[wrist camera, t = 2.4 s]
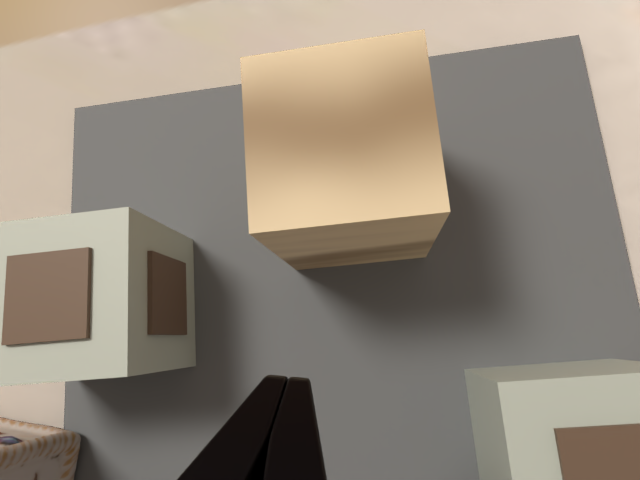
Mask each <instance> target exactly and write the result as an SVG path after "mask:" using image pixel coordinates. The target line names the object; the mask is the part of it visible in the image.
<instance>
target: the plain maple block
mask: <svg viewBox="0 0 640 480" xmlns="http://www.w3.org/2000/svg"><path fill="white" fill-rule="evenodd" d="M240 60H241V81H242V101H243V122H244V143H245V163H246V184H247V205H248V226H249V234H250V235H251V236H252V237H254V238H255V239H256V240H258V241H259V242H260V243H262V244H263V245H264V246H265V247H267V248H268V249H269V250H271V251H272V252H273V253H275V254H276V255H277V256H278V257H280V258H281V259H282V260H284V261H285V262H286V263H288V264H289V265H290V266H291V267H293V268H294V269H295V270H303V269H313V268H323V267H333V266H343V265H353V264H363V263H374V262H384V261H394V260H404V259H414V258H424V257H426V256H427V254H428V252H429V251H430V249H431V247H432V245H433V243H434V241H435V240H436V238H437V236H438V234H439V232H440V230H441V228H442V227H443V225H444V223H445V221H446V219H447V217H448V216H449V214H450V212H451V211H450V204H449V197H448V191H447V184H446V177H445V170H444V163H443V156H442V149H441V142H440V135H439V128H438V121H437V114H436V107H435V100H434V93H433V86H432V79H431V72H430V65H429V58H428V51H427V44H426V37H425V30H424V29H423V30H417V31H410V32H404V33H397V34H391V35H384V36H377V37H371V38H364V39H358V40H351V41H345V42H338V43H331V44H325V45H318V46H312V47H305V48H299V49H292V50H285V51H279V52H272V53H266V54H259V55H253V56H246V57H240Z"/></svg>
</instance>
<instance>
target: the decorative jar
mask: <svg viewBox="0 0 640 480" xmlns="http://www.w3.org/2000/svg"><path fill="white" fill-rule="evenodd" d="M80 442H81V437H80V435H79V434H77V433H76V432H73V431H69V430H64V429H61V428H55V427H52V426H45V425H39V424H33V423H26V422H20V421H15V420H9V419H6V418H1V417H0V480H74V475H75V470H76V465H77V459H78V455H79V450H80Z"/></svg>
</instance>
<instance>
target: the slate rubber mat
mask: <svg viewBox="0 0 640 480" xmlns="http://www.w3.org/2000/svg"><path fill="white" fill-rule="evenodd" d="M428 58H429V65H430V72H431V79H432V86H433V93H434V100H435V107H436V114H437V121H438V128H439V135H440V142H441V149H442V156H443V163H444V170H445V177H446V184H447V191H448V197H449V204H450V211H451V212H450V214H449V216H448V217H447V219H446V221H445V223H444V225H443V227H442V228H441V230H440V232H439V234H438V236H437V238H436V240H435V241H434V243H433V245H432V247H431V249H430V251H429V252H428V254H427V256H426V257H424V258H414V259H404V260H394V261H384V262H374V263H363V264H353V265H343V266H333V267H323V268H313V269H303V270H295V269H294V268H293V267H291V266H290V265H289V264H288V263H286V262H285V261H284V260H282V259H281V258H280V257H278V256H277V255H276V254H275V253H273V252H272V251H271V250H269V249H268V248H267V247H265V246H264V245H263V244H262V243H260V242H259V241H258V240H256V239H255V238H254V237H252V236H251V235H250V234H249V226H248V205H247V184H246V163H245V143H244V122H243V101H242V84H239V85H232V86H225V87H218V88H212V89H205V90H198V91H191V92H184V93H177V94H170V95H163V96H157V97H150V98H143V99H136V100H129V101H122V102H115V103H108V104H102V105H95V106H88V107H81V108H75V121H74V150H73V179H72V208H71V214H72V213H80V212H89V211H97V210H106V209H114V208H122V207H130V208H132V209H134V210H136V211H138V212H140V213H142V214H144V215H146V216H148V217H150V218H152V219H154V220H156V221H157V222H159V223H161V224H163V225H165V226H167V227H169V228H171V229H173V230H175V231H177V232H179V233H181V234H183V235H185V236H187V237H189V238H191V239H193V255H194V300H195V345H196V366H193V367H186V368H180V369H174V370H167V371H161V372H154V373H148V374H142V375H135V376H129V377H118V378H105V379H91V380H78V381H65V409H64V430H69V431H73V432H76V433H77V434H79V435H80V437H81V442H80V450H79V455H78V459H77V465H76V470H75V475H74V480H177V479H178V478H179V476H180V475H181V474H182V473H183V472H184V471H185V469H186V468H187V467H188V466H189V465H190V464H191V462H192V461H193V460H194V459H195V458H196V456H197V455H198V454H199V453H200V452H201V451H202V449H203V448H204V447H205V446H206V445H207V444H208V442H209V441H210V440H211V439H212V438H213V437H214V435H215V434H216V433H217V432H218V431H219V430H220V428H221V427H222V426H223V425H224V424H225V423H226V421H227V420H228V419H229V418H230V417H231V416H232V414H233V413H234V412H235V411H236V410H237V409H238V407H239V406H240V405H241V404H242V403H243V402H244V400H245V399H246V398H247V397H248V396H249V395H250V393H251V392H252V391H253V390H254V389H255V387H256V386H257V385H258V384H259V383H260V382H261V380H262V379H263V378H264V377H265V376H267V375H281V376H286V377H287V378H288V379H289V378H290V377H302V378H308V379H309V380H310V382H311V387H312V393H313V399H314V405H315V411H316V417H317V423H318V429H319V434H320V440H321V446H322V452H323V458H324V464H325V470H326V476H327V480H480V479H479V472H478V465H477V458H476V450H475V443H474V436H473V429H472V422H471V415H470V407H469V400H468V393H467V386H466V379H465V372H464V369H474V368H488V367H502V366H515V365H529V364H543V363H557V362H571V361H585V360H599V359H621V360H632V361H640V308H639V303H638V299H637V294H636V290H635V285H634V281H633V276H632V272H631V267H630V263H629V258H628V254H627V249H626V245H625V240H624V236H623V231H622V227H621V222H620V218H619V213H618V209H617V204H616V200H615V195H614V191H613V186H612V182H611V177H610V173H609V168H608V164H607V159H606V155H605V150H604V146H603V141H602V137H601V132H600V128H599V123H598V119H597V114H596V110H595V105H594V101H593V96H592V92H591V87H590V83H589V78H588V74H587V69H586V65H585V60H584V56H583V51H582V47H581V42H580V38H579V35H576V36H569V37H562V38H555V39H548V40H541V41H534V42H527V43H521V44H514V45H507V46H500V47H493V48H486V49H479V50H473V51H466V52H459V53H452V54H445V55H438V56H431V57H428Z"/></svg>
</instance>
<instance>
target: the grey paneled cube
mask: <svg viewBox="0 0 640 480" xmlns="http://www.w3.org/2000/svg"><path fill="white" fill-rule="evenodd" d="M464 372H465V379H466V386H467V393H468V400H469V407H470V415H471V422H472V429H473V436H474V443H475V450H476V458H477V465H478V472H479V479H480V480H640V361H632V360H621V359H599V360H585V361H571V362H557V363H543V364H529V365H515V366H502V367H488V368H474V369H464Z"/></svg>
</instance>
